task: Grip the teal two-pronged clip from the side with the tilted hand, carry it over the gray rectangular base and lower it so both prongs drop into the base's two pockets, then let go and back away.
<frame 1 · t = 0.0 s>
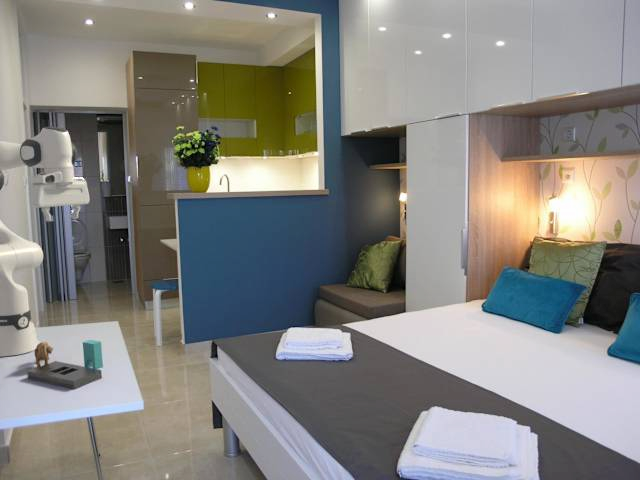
hand: (62, 220, 184), 48 cm above the table, tool pointing down, fingers open, 8 cm apart
lion figurine: (44, 365, 188), on the table
gray rectangular base: (64, 378, 174), on the table
clip: (93, 367, 184), on the table
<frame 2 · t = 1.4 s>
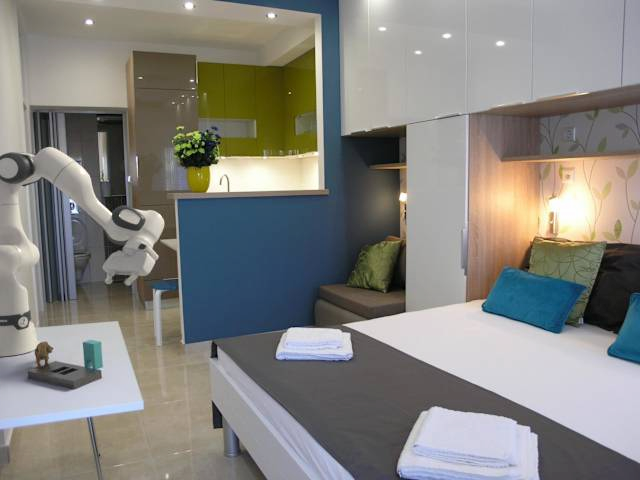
hand: (116, 283, 191), 26 cm above the table, tool tilted 45°, fingers open, 8 cm apart
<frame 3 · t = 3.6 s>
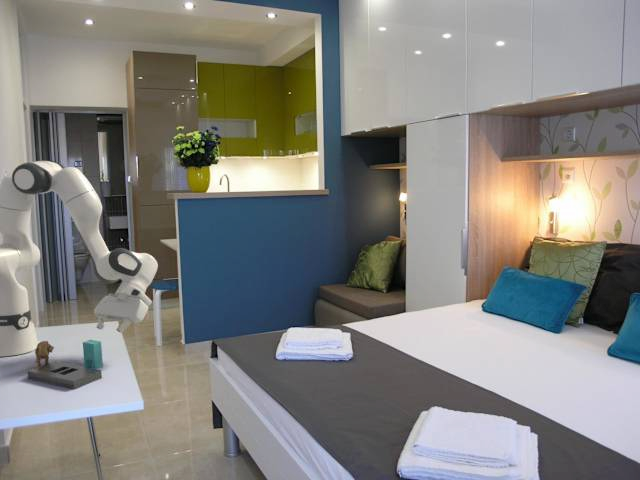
hand: (108, 330, 189), 11 cm above the table, tool tilted 45°, fingers open, 8 cm apart
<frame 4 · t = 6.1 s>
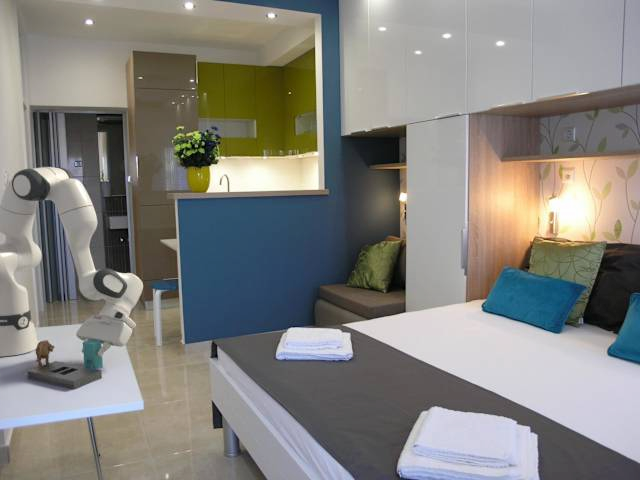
hand: (91, 354, 183), 5 cm above the table, tool tilted 45°, fingers closed on clip, 5 cm apart
clip: (93, 367, 184), on the table, touching gripper
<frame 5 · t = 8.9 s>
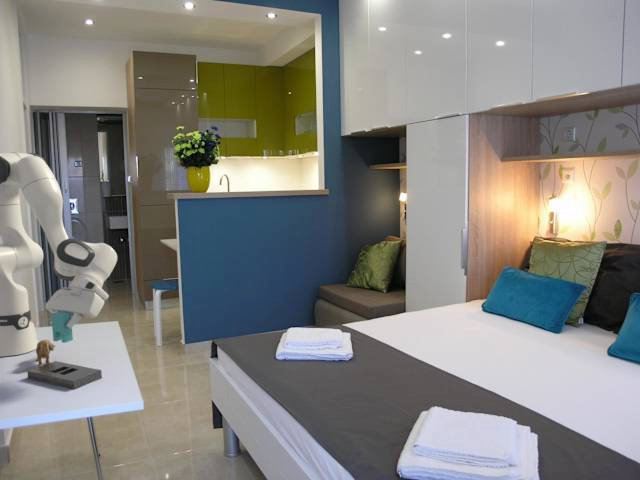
hand: (60, 326, 172), 17 cm above the table, tool tilted 45°, fingers closed on clip, 5 cm apart
clip: (63, 340, 173), point 12 cm above the table, touching gripper
when the fingers open (6 cm above the table, at t = 11.9 s): clip drops 1 cm, resting in gray rectangular base.
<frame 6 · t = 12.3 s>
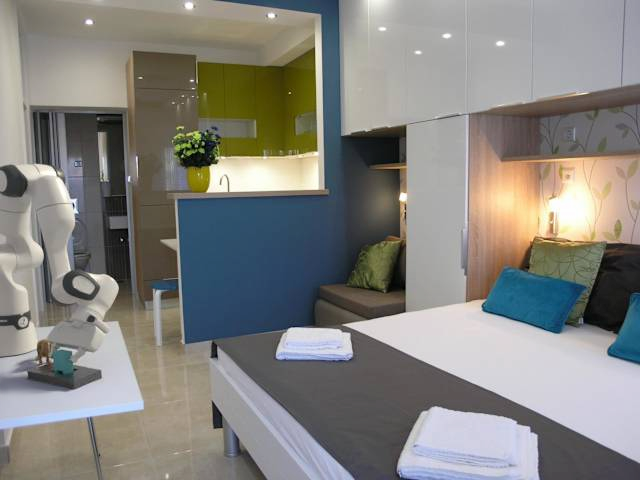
hand: (61, 360, 173), 6 cm above the table, tool tilted 45°, fingers open, 8 cm apart
clip: (64, 378, 174), resting in gray rectangular base
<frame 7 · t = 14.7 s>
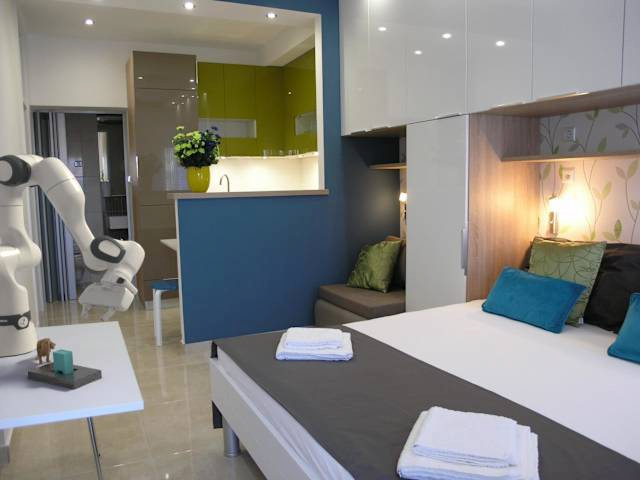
hand: (92, 319, 183), 16 cm above the table, tool tilted 45°, fingers open, 8 cm apart
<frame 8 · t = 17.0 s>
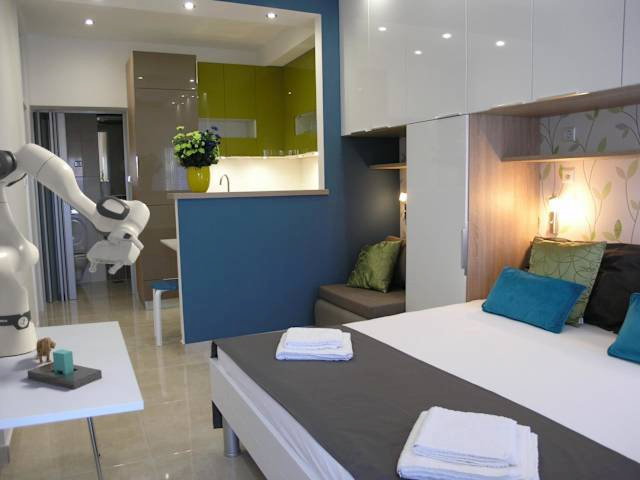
hand: (101, 272, 192), 29 cm above the table, tool tilted 45°, fingers open, 8 cm apart
at the end: clip 0.1 cm off-centre on the gray rectangular base, point 0.0 cm above the gray rectangular base's base; clip tilted 0°; the gripper is holding nothing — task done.
